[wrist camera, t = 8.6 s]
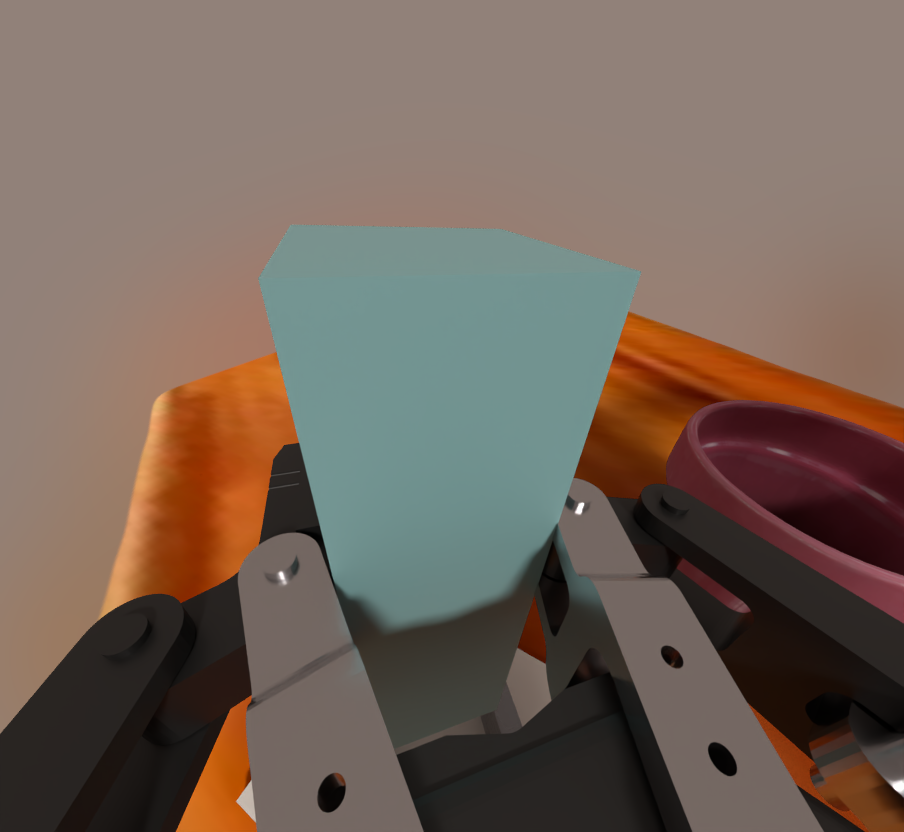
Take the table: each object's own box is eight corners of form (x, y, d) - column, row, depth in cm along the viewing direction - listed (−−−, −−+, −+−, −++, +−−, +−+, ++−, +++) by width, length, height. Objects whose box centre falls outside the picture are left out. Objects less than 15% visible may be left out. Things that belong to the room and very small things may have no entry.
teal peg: (364, 623, 14) (291, 224, 6) (459, 597, 15) (501, 229, 7) (377, 755, 11) (257, 278, 3) (496, 709, 12) (641, 271, 4)
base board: (396, 586, 25) (396, 578, 24) (564, 684, 21) (568, 677, 20) (242, 805, 16) (236, 801, 15) (480, 1061, 12) (484, 1067, 11)
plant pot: (808, 793, 17) (1083, 696, 10) (580, 570, 27) (639, 438, 20) (878, 629, 24) (1071, 501, 17) (677, 497, 34) (747, 380, 26)
